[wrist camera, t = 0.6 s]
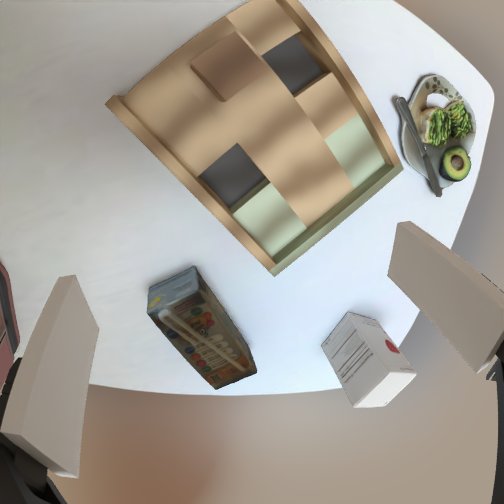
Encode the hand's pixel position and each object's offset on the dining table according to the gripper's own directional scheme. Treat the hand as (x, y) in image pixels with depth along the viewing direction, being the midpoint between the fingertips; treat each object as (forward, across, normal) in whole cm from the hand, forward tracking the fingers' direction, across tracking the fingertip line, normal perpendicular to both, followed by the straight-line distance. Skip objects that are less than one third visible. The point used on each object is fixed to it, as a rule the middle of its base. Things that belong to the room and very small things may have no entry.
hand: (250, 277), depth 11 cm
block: (+22, +3, +10) cm, 24 cm away
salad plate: (+25, +36, +2) cm, 44 cm away
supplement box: (+24, +22, -34) cm, 48 cm away
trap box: (+25, +8, +2) cm, 26 cm away
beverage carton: (+25, -3, -24) cm, 35 cm away
